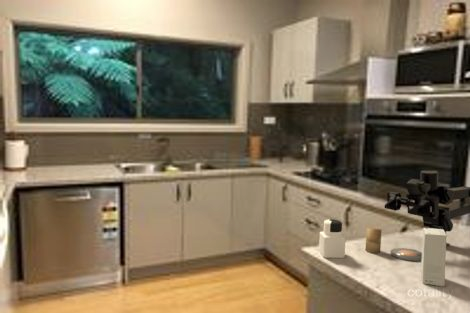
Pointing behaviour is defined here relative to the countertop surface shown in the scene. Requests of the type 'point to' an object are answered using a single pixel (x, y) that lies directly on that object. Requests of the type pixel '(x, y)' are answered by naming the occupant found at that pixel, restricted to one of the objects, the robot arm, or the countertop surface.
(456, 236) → the countertop surface
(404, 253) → the coaster
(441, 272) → the skincare box
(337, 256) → the medicine bottle
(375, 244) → the oak canister
